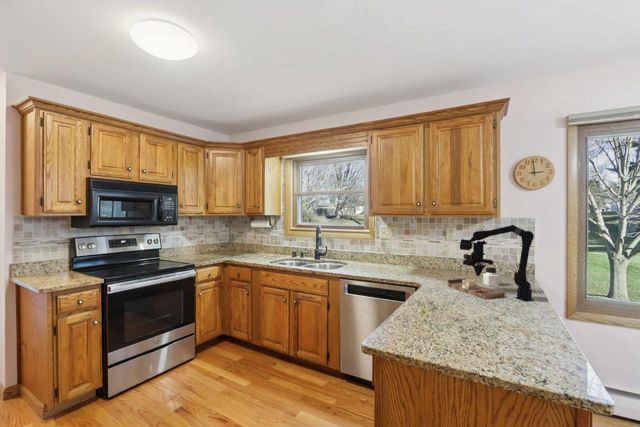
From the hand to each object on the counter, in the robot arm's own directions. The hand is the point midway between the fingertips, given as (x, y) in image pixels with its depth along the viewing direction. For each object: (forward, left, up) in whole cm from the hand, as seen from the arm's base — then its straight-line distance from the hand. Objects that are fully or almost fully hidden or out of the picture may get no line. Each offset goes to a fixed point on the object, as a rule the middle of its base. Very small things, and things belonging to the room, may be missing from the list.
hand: (477, 276), depth 186 cm
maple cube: (+1, +6, -8) cm, 10 cm away
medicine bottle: (+12, -24, -10) cm, 29 cm away
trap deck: (+2, +1, -10) cm, 10 cm away
